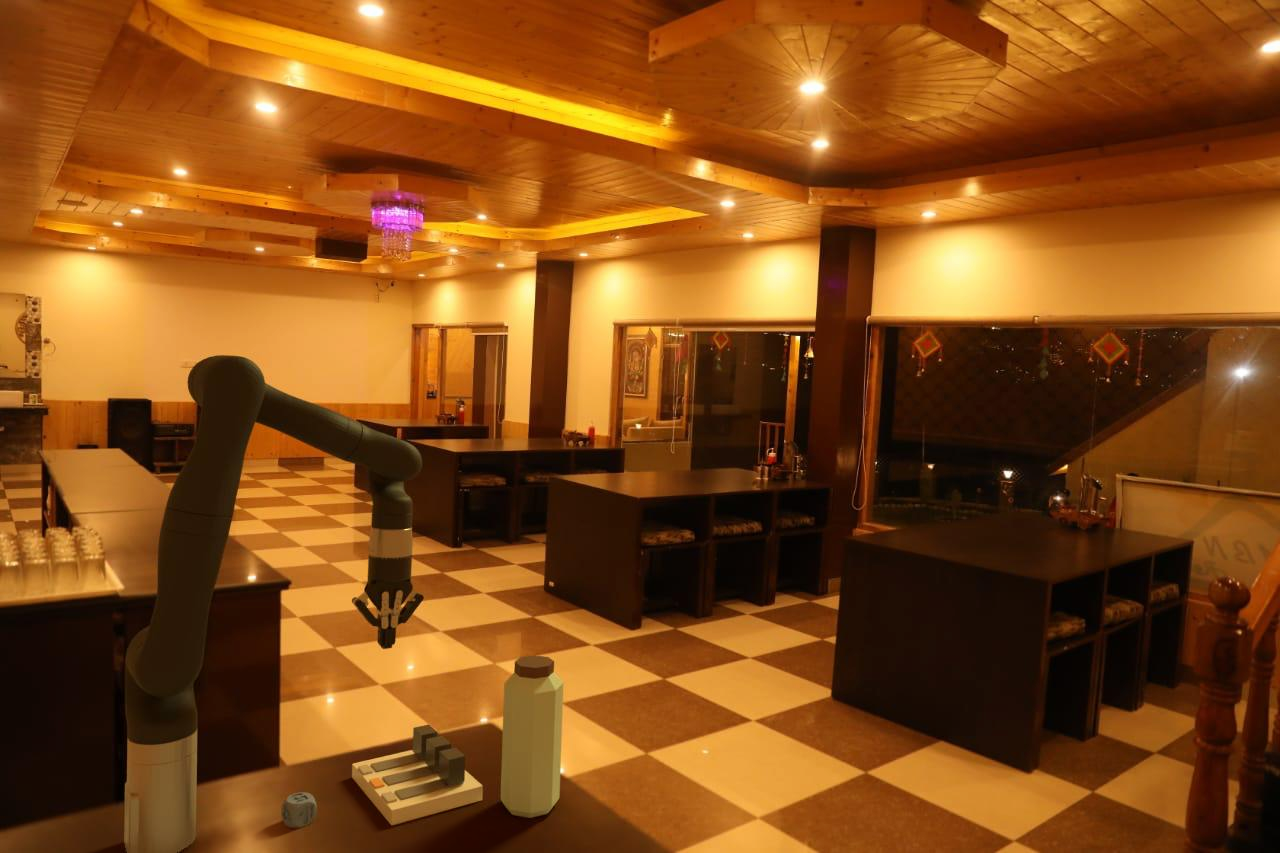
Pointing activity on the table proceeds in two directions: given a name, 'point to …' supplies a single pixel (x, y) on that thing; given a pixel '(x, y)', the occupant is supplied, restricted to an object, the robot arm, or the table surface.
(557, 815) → the table surface
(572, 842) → the table surface
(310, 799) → the decorative dice
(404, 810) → the breaker panel
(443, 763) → the block
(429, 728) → the block
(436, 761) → the block
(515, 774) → the water bottle
